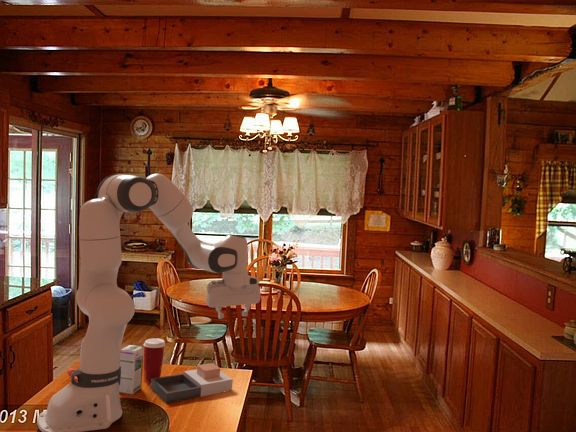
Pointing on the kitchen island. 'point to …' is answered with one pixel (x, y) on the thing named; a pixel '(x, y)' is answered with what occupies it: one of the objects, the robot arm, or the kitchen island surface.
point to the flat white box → (211, 383)
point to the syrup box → (131, 369)
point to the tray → (175, 388)
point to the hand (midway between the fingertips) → (232, 317)
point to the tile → (208, 371)
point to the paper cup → (153, 358)
